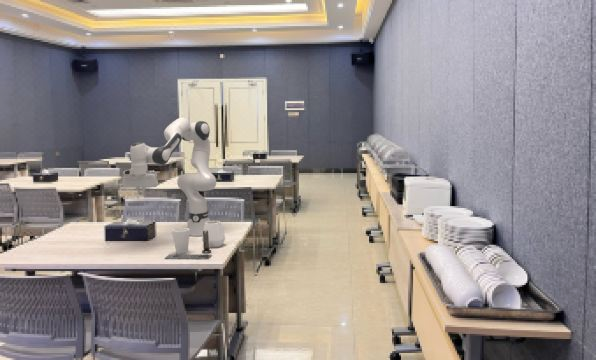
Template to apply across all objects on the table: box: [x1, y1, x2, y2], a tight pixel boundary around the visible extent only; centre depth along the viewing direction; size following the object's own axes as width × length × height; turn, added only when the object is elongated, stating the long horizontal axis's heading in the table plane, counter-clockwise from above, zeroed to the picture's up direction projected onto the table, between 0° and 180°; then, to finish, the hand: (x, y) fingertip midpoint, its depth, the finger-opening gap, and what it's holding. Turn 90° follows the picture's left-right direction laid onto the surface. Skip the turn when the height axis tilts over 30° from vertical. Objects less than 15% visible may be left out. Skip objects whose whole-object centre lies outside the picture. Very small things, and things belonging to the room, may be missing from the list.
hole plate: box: [164, 253, 213, 260], centre depth 280 cm, size 7×24×1 cm, turn 83°
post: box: [201, 231, 212, 255], centre depth 288 cm, size 5×5×12 cm
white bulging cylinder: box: [201, 220, 226, 249], centre depth 303 cm, size 13×13×14 cm
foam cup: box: [171, 227, 190, 254], centre depth 289 cm, size 10×9×13 cm
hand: (141, 194), depth 300 cm, fingers closed
